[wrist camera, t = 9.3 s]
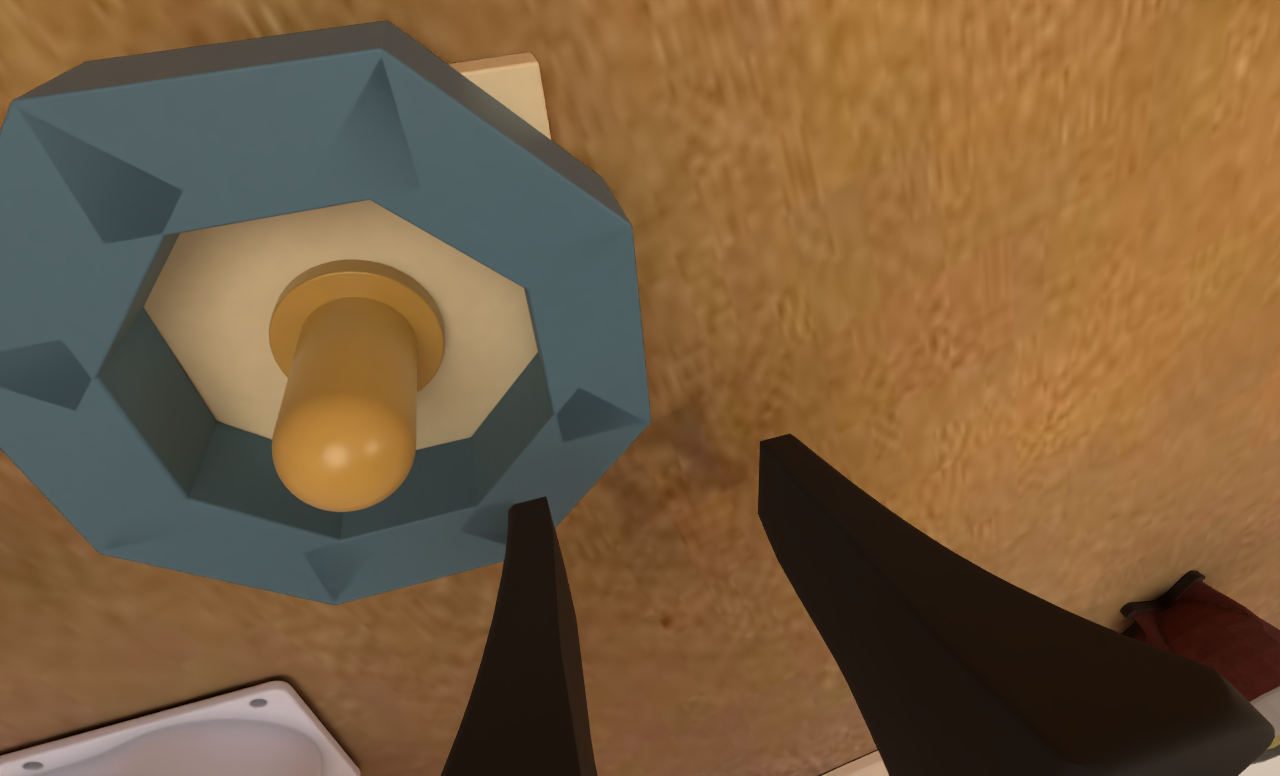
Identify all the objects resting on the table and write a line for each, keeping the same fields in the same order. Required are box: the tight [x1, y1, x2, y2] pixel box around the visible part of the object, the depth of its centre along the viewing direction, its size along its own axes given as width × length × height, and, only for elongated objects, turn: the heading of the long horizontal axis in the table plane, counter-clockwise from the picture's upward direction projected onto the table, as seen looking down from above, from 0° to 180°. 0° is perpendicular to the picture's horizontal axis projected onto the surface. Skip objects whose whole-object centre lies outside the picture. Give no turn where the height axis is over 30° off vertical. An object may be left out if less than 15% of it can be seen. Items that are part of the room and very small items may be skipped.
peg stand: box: [144, 52, 551, 512], centre depth 14 cm, size 10×10×6 cm
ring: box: [0, 21, 651, 605], centre depth 14 cm, size 12×12×3 cm
